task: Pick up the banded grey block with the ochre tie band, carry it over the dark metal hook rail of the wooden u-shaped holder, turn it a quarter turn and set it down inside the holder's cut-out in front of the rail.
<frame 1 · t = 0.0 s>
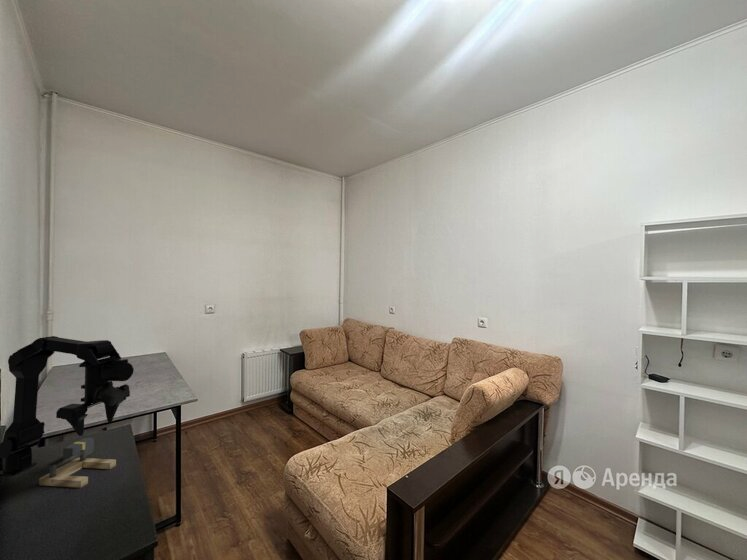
hand: (95, 428, 96), 14 cm above the table, fingers open, 9 cm apart
banded grey block: (78, 457, 105), on the table
wooden u-shaped holder: (79, 474, 95), on the table
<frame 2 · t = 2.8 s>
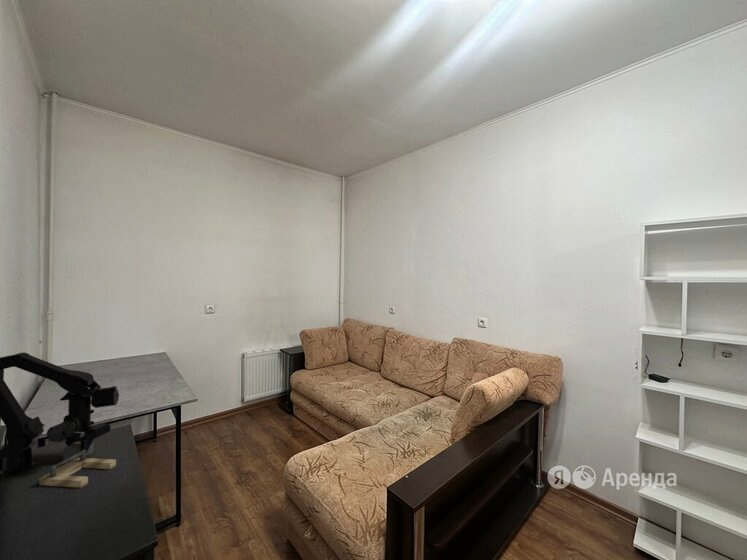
hand: (78, 454, 105), 1 cm above the table, fingers closed on banded grey block, 4 cm apart
banded grey block: (78, 457, 105), on the table, touching gripper
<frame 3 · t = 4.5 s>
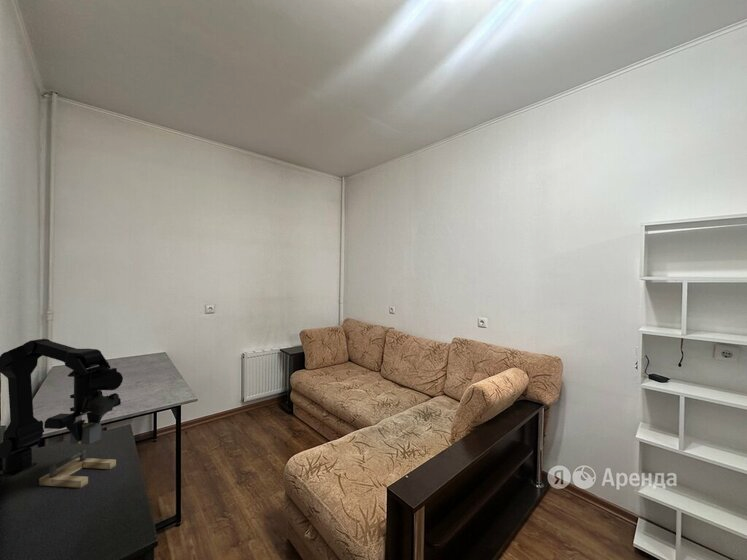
hand: (86, 437, 96), 11 cm above the table, fingers closed on banded grey block, 4 cm apart
banded grey block: (85, 440, 96), point 10 cm above the table, touching gripper
when the fingers open (3 cm above the table, at t = 6.5 s): banded grey block drops 2 cm, resting in wooden u-shaped holder.
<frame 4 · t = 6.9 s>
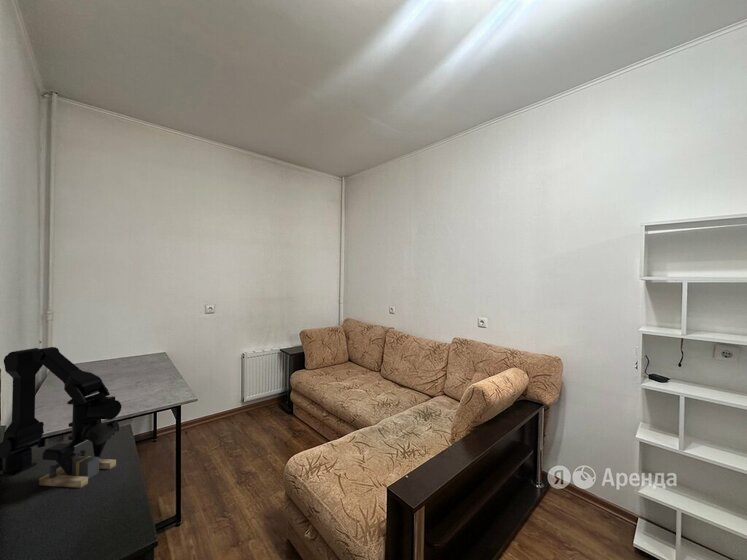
hand: (83, 466, 95), 3 cm above the table, fingers open, 8 cm apart
banded grey block: (83, 475, 95), resting in wooden u-shaped holder
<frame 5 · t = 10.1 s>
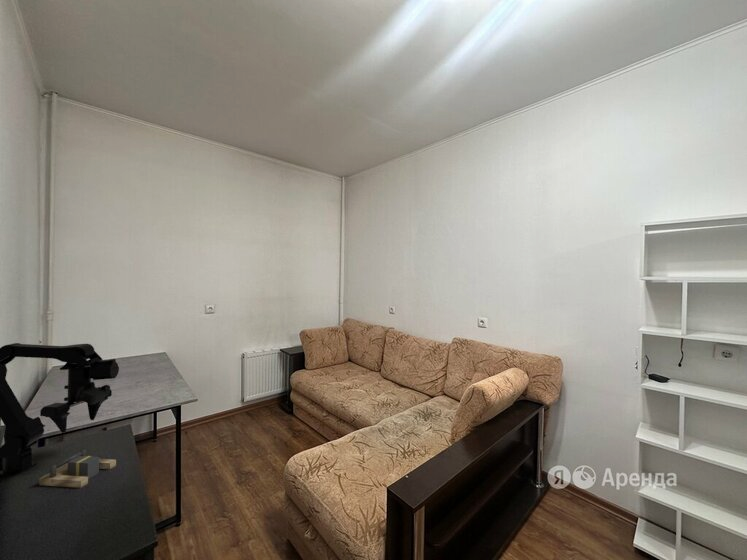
hand: (78, 425, 103), 12 cm above the table, fingers open, 9 cm apart
nothing on the table moved.
at the end: banded grey block 0.9 cm from the target spot on the wooden u-shaped holder, point 0.0 cm above the wooden u-shaped holder's base; banded grey block tilted 0°; the gripper is holding nothing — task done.
